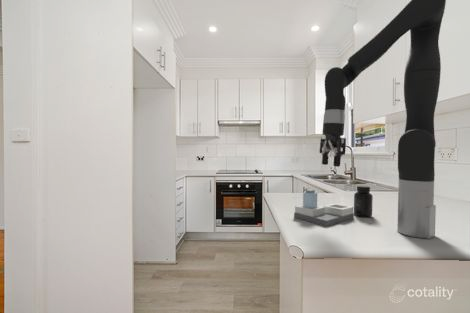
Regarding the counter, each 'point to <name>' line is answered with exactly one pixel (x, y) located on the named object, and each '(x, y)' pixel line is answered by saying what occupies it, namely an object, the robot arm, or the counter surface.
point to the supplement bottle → (363, 202)
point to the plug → (310, 199)
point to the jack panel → (324, 214)
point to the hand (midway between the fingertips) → (330, 165)
